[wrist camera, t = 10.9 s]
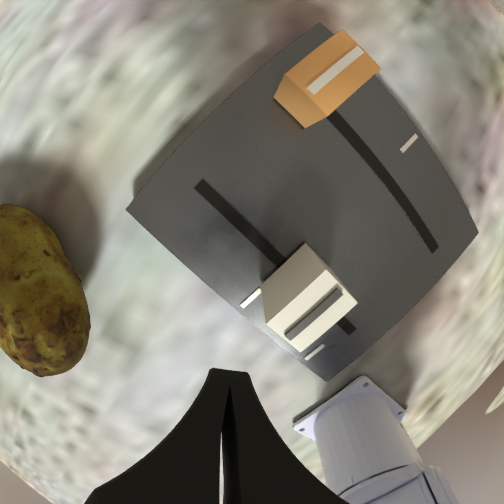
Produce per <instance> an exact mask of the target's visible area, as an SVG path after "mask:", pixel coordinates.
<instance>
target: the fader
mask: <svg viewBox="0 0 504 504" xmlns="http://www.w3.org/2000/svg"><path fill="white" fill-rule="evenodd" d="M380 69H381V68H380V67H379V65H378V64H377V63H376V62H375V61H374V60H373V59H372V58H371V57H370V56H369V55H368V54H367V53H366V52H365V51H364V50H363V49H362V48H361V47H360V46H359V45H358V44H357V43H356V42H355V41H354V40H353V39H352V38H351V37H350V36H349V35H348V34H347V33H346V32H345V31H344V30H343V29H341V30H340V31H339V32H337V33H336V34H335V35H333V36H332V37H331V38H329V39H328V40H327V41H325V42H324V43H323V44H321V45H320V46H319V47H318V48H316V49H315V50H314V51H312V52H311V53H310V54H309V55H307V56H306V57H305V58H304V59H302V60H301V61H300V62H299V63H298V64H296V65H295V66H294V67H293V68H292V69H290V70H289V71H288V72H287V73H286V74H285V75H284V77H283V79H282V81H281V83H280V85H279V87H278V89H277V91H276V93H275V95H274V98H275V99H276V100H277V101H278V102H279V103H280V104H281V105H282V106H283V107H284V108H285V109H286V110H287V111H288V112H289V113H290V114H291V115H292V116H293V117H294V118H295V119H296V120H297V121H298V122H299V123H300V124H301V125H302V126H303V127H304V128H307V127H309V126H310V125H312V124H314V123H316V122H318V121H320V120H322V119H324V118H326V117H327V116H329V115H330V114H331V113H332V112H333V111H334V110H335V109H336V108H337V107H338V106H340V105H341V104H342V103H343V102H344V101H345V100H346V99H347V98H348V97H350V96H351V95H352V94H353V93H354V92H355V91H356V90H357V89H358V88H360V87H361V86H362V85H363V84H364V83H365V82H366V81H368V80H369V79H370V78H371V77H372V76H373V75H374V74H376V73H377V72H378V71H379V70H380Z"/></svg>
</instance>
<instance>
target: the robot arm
mask: <svg viewBox="0 0 504 504" xmlns="http://www.w3.org/2000/svg"><path fill="white" fill-rule="evenodd" d="M365 383H366V384H365ZM407 415H408V413H407V411H406V410H405V409H403V408H402V407H401V406H400V405H399V404H398V403H396V402H395V401H394V400H393V399H392V398H391V397H390V396H388V395H387V394H386V393H385V392H384V391H383V390H381V389H380V388H379V387H378V386H377V385H376V384H375V383H373V382H372V381H371V380H370V379H369V378H368V377H366V376H360V377H358V378H357V379H356V380H354V381H353V382H352V383H351V384H349V385H348V386H347V387H345V388H344V389H343V390H341V391H340V392H339V393H337V394H336V395H335V396H333V397H332V398H331V399H329V400H328V401H326V402H325V403H324V404H322V405H321V406H319V407H318V408H316V409H315V410H313V411H312V412H310V413H309V414H308V415H306V416H305V417H303V418H301V419H300V420H298V421H297V422H295V423H294V424H293V429H294V430H295V431H297V432H299V433H300V434H302V435H304V436H306V437H308V438H310V439H312V440H314V441H316V444H317V448H318V452H319V456H320V460H321V464H322V468H323V472H324V476H325V480H326V484H327V487H326V486H325V485H324V484H323V483H322V482H320V481H319V480H318V479H317V478H316V477H315V476H314V475H313V474H312V473H311V472H310V471H309V470H308V469H307V468H306V467H305V466H304V465H303V464H302V463H301V462H300V461H299V460H298V459H297V458H296V456H295V455H294V454H293V453H292V452H291V450H290V449H289V448H288V447H287V445H286V444H285V443H284V441H283V440H282V438H281V437H280V436H279V434H278V433H277V431H276V429H275V428H274V426H273V425H272V423H271V421H270V420H269V418H268V416H267V414H266V412H265V411H264V409H263V407H262V405H261V403H260V401H259V399H258V396H257V394H256V392H255V389H254V387H253V384H252V381H251V378H250V375H249V374H248V373H247V372H240V371H232V370H224V369H217V368H212V369H210V370H209V373H208V376H207V379H206V381H205V383H204V385H203V387H202V389H201V391H200V393H199V394H198V396H197V397H196V399H195V401H194V402H193V404H192V405H191V407H190V408H189V410H188V411H187V412H186V414H185V415H184V416H183V418H182V419H181V420H180V422H179V423H178V424H177V425H176V426H175V427H174V429H173V430H172V431H171V432H170V433H169V434H168V435H167V436H166V437H165V438H164V439H163V440H162V441H161V442H160V443H159V444H158V445H157V446H156V447H155V448H154V449H153V450H152V451H151V452H150V453H148V454H147V455H146V456H145V457H144V458H142V459H141V460H140V461H138V462H137V463H136V464H134V465H133V466H132V467H130V468H129V469H127V470H126V471H125V472H123V473H122V474H120V475H119V476H117V477H115V478H113V479H112V480H110V481H108V482H106V483H105V484H103V485H101V486H99V487H97V488H96V489H94V490H93V492H92V493H91V494H90V496H89V497H88V498H87V500H86V502H85V503H84V504H219V478H220V442H221V431H222V455H223V475H224V495H223V504H459V502H458V500H457V499H456V497H455V495H454V493H453V491H452V489H451V487H450V485H449V483H448V481H447V480H446V478H445V476H444V474H443V472H442V471H441V469H440V467H435V466H434V467H433V466H432V465H429V466H428V467H426V468H425V469H424V470H423V469H422V461H421V458H420V456H419V454H418V452H417V450H416V448H415V446H414V444H413V442H412V441H411V439H410V437H409V435H408V433H407V431H406V429H405V427H404V426H403V424H402V422H401V421H402V420H403V419H405V418H406V417H407Z"/></svg>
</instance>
